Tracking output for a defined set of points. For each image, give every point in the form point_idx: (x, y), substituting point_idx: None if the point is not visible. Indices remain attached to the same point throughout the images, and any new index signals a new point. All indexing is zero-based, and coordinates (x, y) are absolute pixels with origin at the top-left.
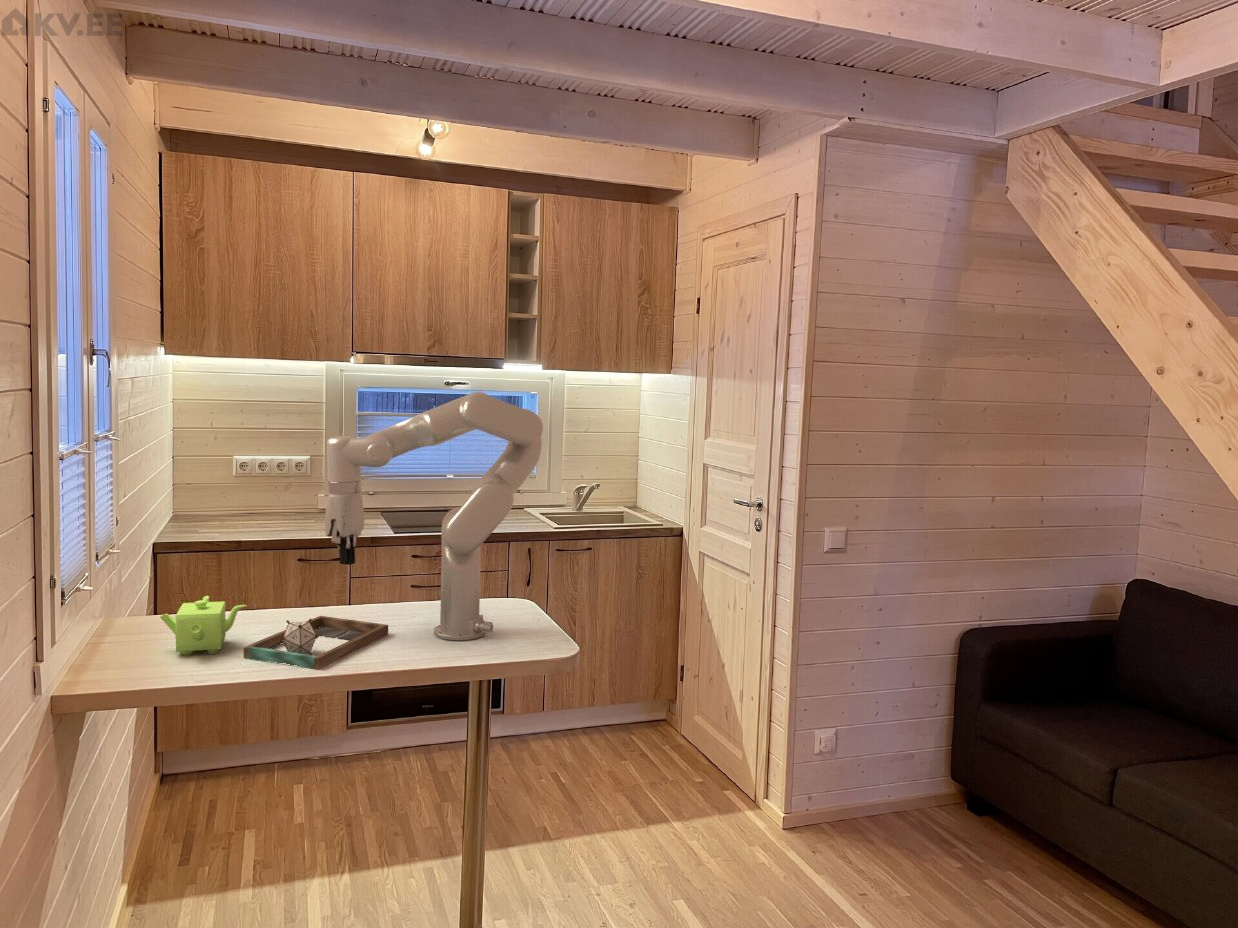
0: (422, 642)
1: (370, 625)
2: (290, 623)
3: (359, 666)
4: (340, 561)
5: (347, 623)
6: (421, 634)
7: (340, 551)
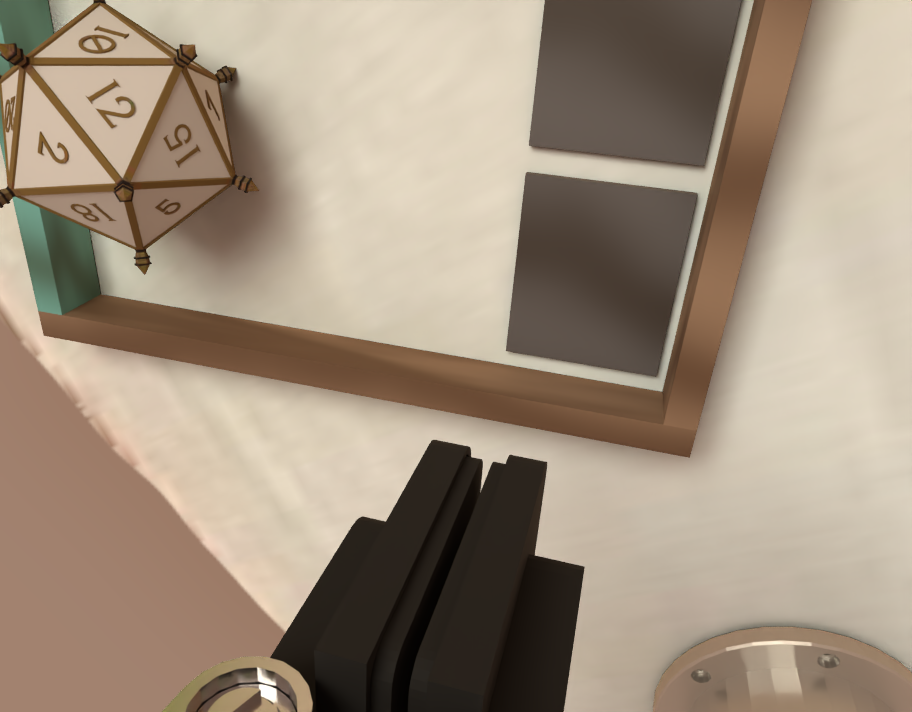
0: (596, 599)
1: (680, 348)
2: (19, 83)
3: (197, 450)
4: (424, 465)
5: (723, 161)
6: (736, 572)
7: (355, 601)
